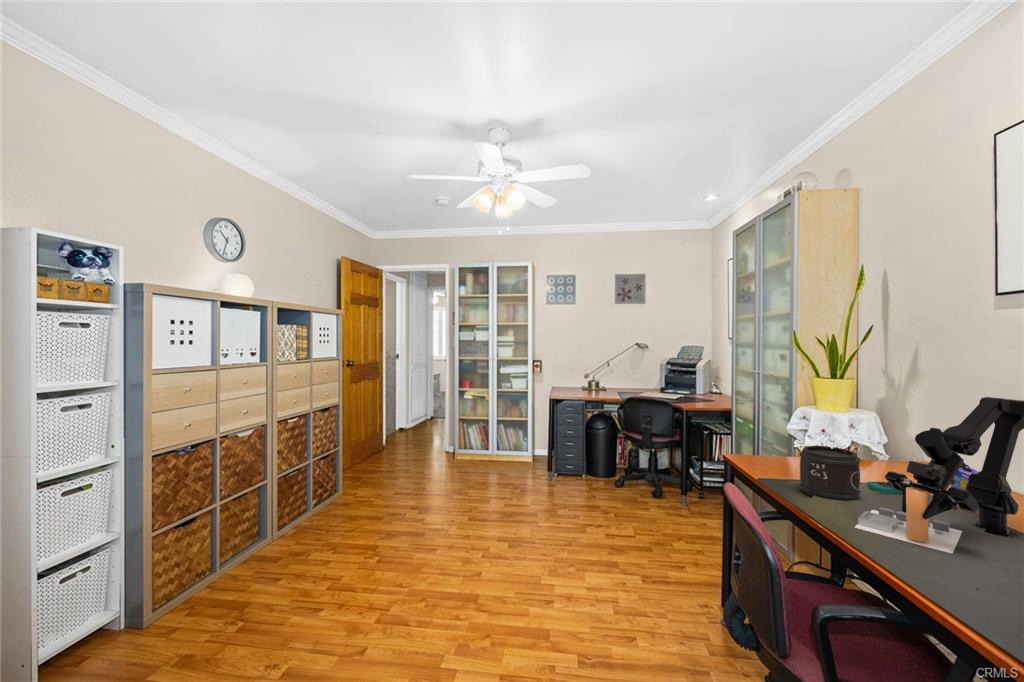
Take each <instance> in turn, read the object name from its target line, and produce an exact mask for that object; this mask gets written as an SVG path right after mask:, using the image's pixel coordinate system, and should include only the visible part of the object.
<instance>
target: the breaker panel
mask: <svg viewBox="0 0 1024 682" xmlns="http://www.w3.org/2000/svg"><path fill="white" fill-rule="evenodd" d="M869 512H871V513H875V514H880V515H884V516H888V517H892V518H896V519H898V527H897V528H896V529H895V531H894V532H893V533H889V532H885V531H881V530H877V529H874V528H870V527H866V526H862V525H858V523H857V524H856V525H855V526H854V528H855V529H858V530H863V531H866V532H871V533H873V534H877V535H881V536H884V537H889V538H893V539H896V540H900V541H904V542H907V543H910V544H914V545H919V546H922V547H926V548H929V549H933V550H937V551H941V552H944V553H948V554H953V553H954V551H955V549H956V548H957V544H958V542H959V540H960V538H961V535H962V533H963V530H960V529H955V528H952V527H950V525H951V524H950V522H947V521H943V520H939V519H936V518H935V519H934V518H933V520H932V523H931V518H928V532H929V541H926V542H923V541H917V540H913V539H910V538H908V537H907V536H906V513H905V512H903V511H900V510H899V511H898V510H897V511H896V512H895V510H894V509H890V508H886V507H879V508H878V510H875V509H871V511H869Z"/></svg>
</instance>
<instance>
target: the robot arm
mask: <svg viewBox="0 0 1024 682" xmlns="http://www.w3.org/2000/svg"><path fill="white" fill-rule="evenodd" d="M993 424H994V428H993V431H992V434H991V438H990V442H989V445H988V447H987V450H986V455H985V458H984V461H983V464H982V466H981V467H982V468H981V470H980V471H978V473H977V474H974V473H972V474H971V475H970V477H969V481H968V483H967V485H966V488H965V490H962V489H958V488H954V487H949V486H950V484H952V485H954V484H955V481H954V479H953V478H954V477H955V475H956V474H957V472H958V470H959V469H960V468H963V469H966V467H967V466H966V464H967V463H965V462H964V458H962V457H961V456H960V455H963V456H970V457H972V456H975V455H976V454H977V453H978V452H979V451H980V447H981V446H982V441H981V437H982V436H983V435H984V434H985V432H986V431H987V430H989V428H990V427H991V426H992V425H993ZM1022 430H1024V400H1022V399H1013V398H1012V399H1010V398H1000V397H991V396H984V397H981V398H980V399H979V403H978V404H977V406H975V408H974V409H973V410H972V411H970V413H969V414H967V416H966V417H965V418H964V419H963V420H962V422H961V423H959V424H957V425H953V426H950V427H947V428H946V429H945V430H943V431H942V430H941V429H940V428H937V427H930V428H929V430H923V431H921V432H919V433H917V434H916V435H915V437H914V441H915V442H916V445H918V447H919V449H921V451H922V452H923V453H924V454H925V455H926V457H927V458H929V459H930V460H929V462H928V464H927V463H921V462H917V461H912V460H909V461H908V464H907V467H906V473H909V474H911V475H912V478H913V480H916V481H912V480H911V479H909V478H908V477H907V475H906V474H904V473H900V472H896V471H891V470H889V471H888V472H887V473H886V474H885V475H884V478H885V480H886V482H889V483H890V485H891V486H892V487H893V488H894V489H896V490H899V491H902V493H903V494H902V500H901V502H902V503H901V512H904V513H906V487H916V488H921V489H925V490H927V491H928V494H931V495H932V499H931V501H930V503H928V507H927V509H926V510H925V512H924V514H923V516H922V517H923V518H924V519H928V518H930V519H932V517H936V516H937V515H940V514H942V513H945V512H947V511H948V512H949V511H951V510H954V511H955V510H956V511H957V509H958V507H959V508H960V510H963V511H967V512H969V511H970V512H969V513H972V512H973V513H972V514H976V513H975V512H976V511H977V509H978V513H977V521H976V523H975V525H974V526H975V527H977V528H981V529H984V530H985V532H990V533H994V534H999V535H1001V536H1002V535H1003V536H1007V537H1009V536H1010V531H1011V528H1010V527H1008V515H1013V516H1015V515H1017V513H1018V511H1019V504H1018V502H1017V501H1016V500H1015V498H1013V496H1012V487H1011V486H1010V484H1009V482H1008V479H1007V477H1008V476H1007V475H1008V473H1009V469H1010V465H1011V462H1012V459H1013V455H1014V451H1015V448H1016V446H1017V445H1016V444H1017V441H1018V437H1019V435H1020V431H1022ZM957 504H958V505H959V506H958V505H957ZM957 506H958V507H957Z"/></svg>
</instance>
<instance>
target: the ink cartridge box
mask: <svg viewBox="0 0 1024 682" xmlns="http://www.w3.org/2000/svg"><path fill="white" fill-rule="evenodd" d="M965 464H966V469H963V468H960V469H959V470H958V472H957V474H956V475H955V477H954V478H953V479H954V481H955V484H954V485H952V484H950V485H949V486H950V487H954V488H958V489H962V490H965V488H966V485H967V483H968V481H969V477H970V475H971V474H972V473H974V474H977V473H978V472H979V471H978V470H977V469H973V468H972V467H970V466H969V464H967V463H965ZM950 487H949V488H950ZM956 506H958V507H959V505H958V504H957V505H956ZM968 512H969V513H971V514H978V509H977V511H976V512H975V513H973V512H970V511H968Z"/></svg>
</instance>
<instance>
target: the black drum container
mask: <svg viewBox="0 0 1024 682" xmlns="http://www.w3.org/2000/svg"><path fill="white" fill-rule="evenodd" d="M798 455H799V457H800V460H799V479H800V483H799V487H800V488H801V489H802V493H803V494H806V495H807V496H808V497H810V498H813V497H814V496H818V497H822V498H824V499H832V500H842V501H848V500H849V501H850V500H858V499H859V498H860V495H861V493H862V491H861V490H860V486H861V485H860V484H861V469H860V464H861V458H860V457H858V453H857V452H855V451H852V450H849V449H845V448H841V447H840V448H839V447H833V448H832V447H831V446H825V445H807V446H804V447H803V448H802V450H801V452H799V454H798Z"/></svg>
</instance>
